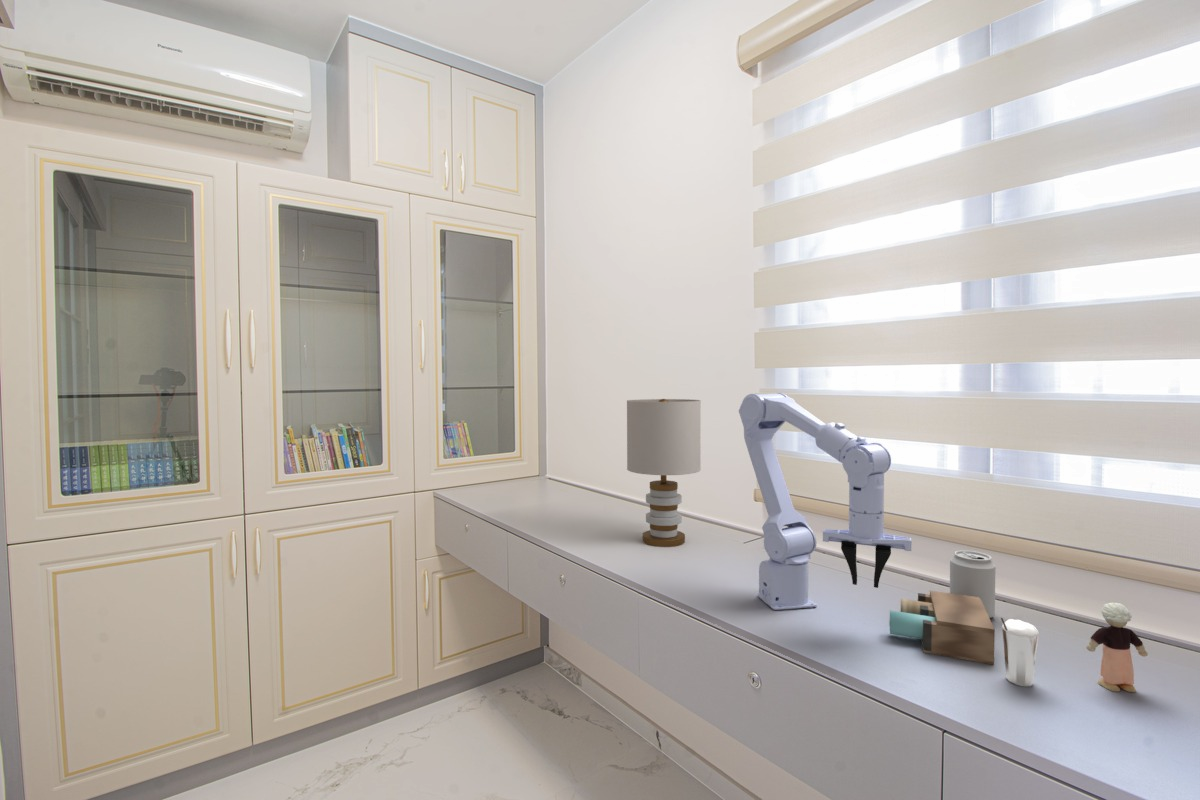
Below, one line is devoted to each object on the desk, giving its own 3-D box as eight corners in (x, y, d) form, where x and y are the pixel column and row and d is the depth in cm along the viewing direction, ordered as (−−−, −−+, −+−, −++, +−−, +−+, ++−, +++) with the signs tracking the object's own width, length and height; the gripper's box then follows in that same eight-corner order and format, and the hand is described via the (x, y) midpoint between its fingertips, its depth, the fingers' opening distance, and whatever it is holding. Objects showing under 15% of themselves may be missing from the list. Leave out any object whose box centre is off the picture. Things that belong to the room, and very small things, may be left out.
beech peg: (901, 624, 106) (901, 602, 105) (900, 616, 109) (900, 595, 109) (964, 634, 101) (965, 612, 101) (961, 625, 105) (962, 604, 105)
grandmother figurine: (1126, 679, 87) (1128, 597, 87) (1151, 693, 83) (1153, 607, 83) (1077, 680, 87) (1079, 598, 86) (1100, 694, 83) (1102, 609, 83)
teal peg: (889, 637, 100) (890, 615, 100) (889, 628, 104) (889, 606, 104) (956, 648, 96) (956, 625, 96) (953, 639, 99) (953, 616, 99)
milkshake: (989, 674, 89) (989, 611, 88) (1021, 672, 89) (1021, 610, 89) (1012, 690, 84) (1013, 624, 84) (1046, 688, 85) (1047, 622, 84)
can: (980, 625, 106) (981, 562, 106) (941, 611, 113) (941, 551, 113) (1003, 617, 110) (1004, 556, 109) (963, 604, 116) (964, 546, 116)
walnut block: (923, 652, 96) (923, 618, 96) (917, 618, 110) (917, 588, 109) (994, 664, 92) (994, 629, 92) (979, 628, 105) (979, 597, 105)
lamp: (660, 527, 178) (660, 397, 177) (715, 541, 163) (715, 398, 162) (612, 540, 164) (611, 399, 163) (667, 556, 149) (667, 400, 147)
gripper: (821, 511, 103) (820, 585, 103) (912, 519, 96) (911, 598, 97) (824, 503, 109) (824, 573, 109) (910, 510, 103) (909, 584, 103)
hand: (865, 584), depth 103 cm, fingers open, 3 cm apart
